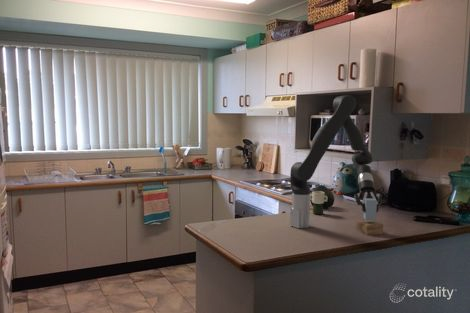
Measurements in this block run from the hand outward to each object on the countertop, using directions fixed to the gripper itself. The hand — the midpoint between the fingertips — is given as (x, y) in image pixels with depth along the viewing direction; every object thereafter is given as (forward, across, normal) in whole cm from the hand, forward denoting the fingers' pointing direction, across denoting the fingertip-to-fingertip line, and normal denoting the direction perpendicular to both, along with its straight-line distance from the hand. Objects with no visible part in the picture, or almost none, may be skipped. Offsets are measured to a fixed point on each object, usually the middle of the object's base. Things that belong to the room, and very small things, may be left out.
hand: (370, 211), depth 200 cm
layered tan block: (+6, 0, +9) cm, 11 cm away
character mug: (-20, -21, +35) cm, 45 cm away
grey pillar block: (+2, 0, +4) cm, 5 cm away
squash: (-32, -17, +48) cm, 60 cm away
